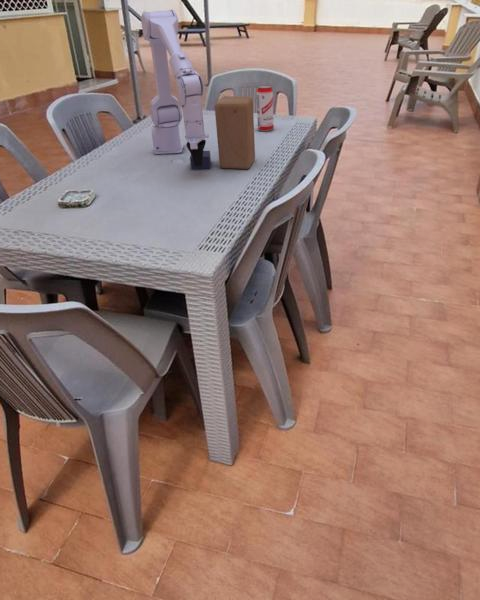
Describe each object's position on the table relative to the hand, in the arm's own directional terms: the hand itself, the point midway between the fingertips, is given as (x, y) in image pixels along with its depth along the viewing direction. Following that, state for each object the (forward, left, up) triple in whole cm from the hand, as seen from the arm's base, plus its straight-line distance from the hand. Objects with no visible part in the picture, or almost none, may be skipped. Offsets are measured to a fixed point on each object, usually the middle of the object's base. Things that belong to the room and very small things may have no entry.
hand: (198, 165), depth 143 cm
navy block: (0, +8, -3) cm, 8 cm away
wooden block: (+12, +8, -3) cm, 15 cm away
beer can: (+23, +47, -3) cm, 52 cm away
